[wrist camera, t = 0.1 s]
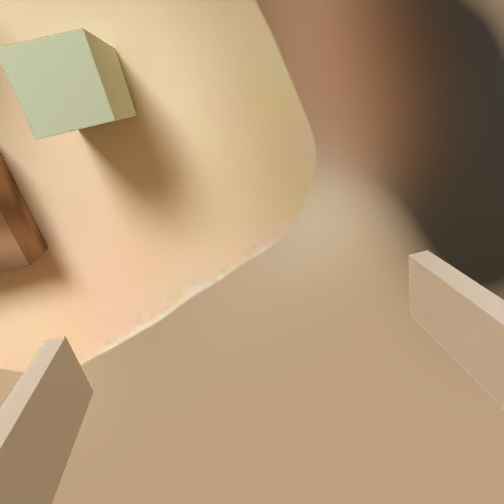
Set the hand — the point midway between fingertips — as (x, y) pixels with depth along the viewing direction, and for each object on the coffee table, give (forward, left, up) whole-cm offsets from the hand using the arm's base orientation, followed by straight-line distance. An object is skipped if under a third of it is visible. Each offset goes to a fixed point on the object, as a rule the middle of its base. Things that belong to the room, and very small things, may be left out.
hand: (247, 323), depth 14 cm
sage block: (-11, -9, -28) cm, 31 cm away
